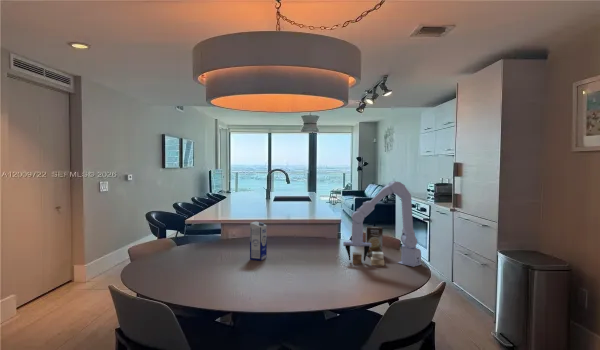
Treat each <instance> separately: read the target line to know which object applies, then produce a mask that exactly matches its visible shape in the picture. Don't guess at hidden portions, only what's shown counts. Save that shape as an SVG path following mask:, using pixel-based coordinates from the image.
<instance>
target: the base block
mask: <svg viewBox="0 0 600 350" xmlns="http://www.w3.org/2000/svg"><path fill="white" fill-rule="evenodd" d="M370 265H371V266H383V267H384V266H385V259H384V257H383V260H372V256H370Z"/></svg>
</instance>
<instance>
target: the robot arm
mask: <svg viewBox="0 0 600 350" xmlns="http://www.w3.org/2000/svg"><path fill="white" fill-rule="evenodd" d="M393 194H394V195H396V196H397V197H398V198H399V199H400V200H401V215H402V217H401V219H402V230H401V231H402V233H401V236H400V241H401V243H402V244H401V258H400V259H401V261H398V262H397V263H398V264H399V265H403V266H409V267H412V268H414V267H419V266H421V265H423V263H422V250H421V249H420V248H418V247H417V245H418V240H417V237H416V234H415V230H414V221H413V204H412V194H411V192H410V191H409V190H408V189H407V187H406V185H405V184H404V183H402V182H401V181H396V180H392V181H390V182H389V183H388V184H386V185H384V186H383V187H382V189H380V190H379V192H378V193H377V194H375V196H373V198H371V200H366V201H363V202H362V205H361V206H360V207H358V208H356V211H353V212H352V214H351V216H350V217H351V220H352V225H351V241H343V242H342V243H343V245H342V246H343V247H345V250H346V252H347V256H348V260H349V261H351V247H363V261H364V262H365V261H366V258H367V256H366V255H367V252H368V250H369V247H371V243H366V241H365V242H364V224H363V223H364V221H365V218H366V217H367V216H369V215H370V214H371V213H372V212H373V211H374V210H375V206H376V205H377V204H378V203H379V202H380V201H382V199H384V198H385V197H386V196H390V195H391V196H392V195H393Z"/></svg>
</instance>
